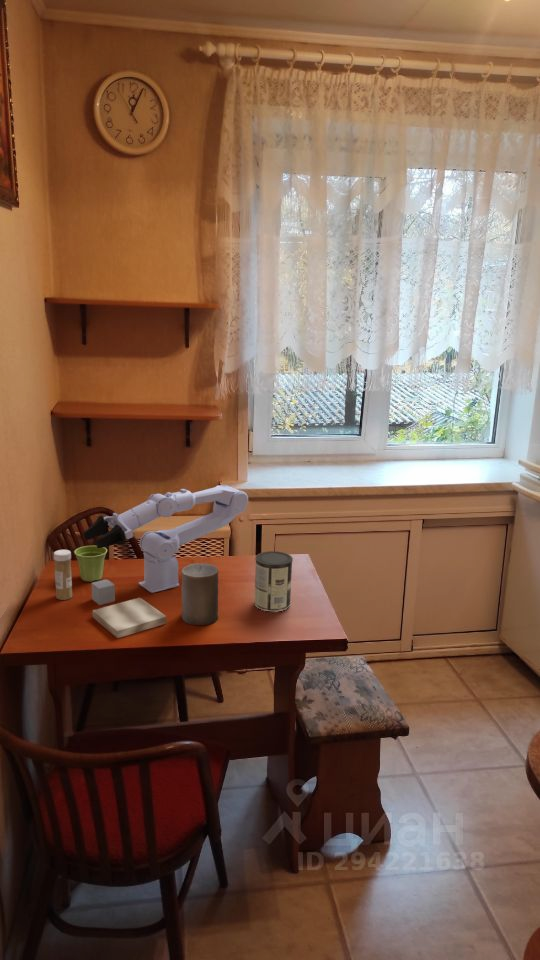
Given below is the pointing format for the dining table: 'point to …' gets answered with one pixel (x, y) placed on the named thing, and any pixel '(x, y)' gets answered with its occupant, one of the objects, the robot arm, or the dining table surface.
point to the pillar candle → (200, 594)
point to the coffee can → (273, 581)
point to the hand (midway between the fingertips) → (90, 540)
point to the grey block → (103, 592)
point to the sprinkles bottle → (63, 574)
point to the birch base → (129, 617)
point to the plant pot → (90, 562)
